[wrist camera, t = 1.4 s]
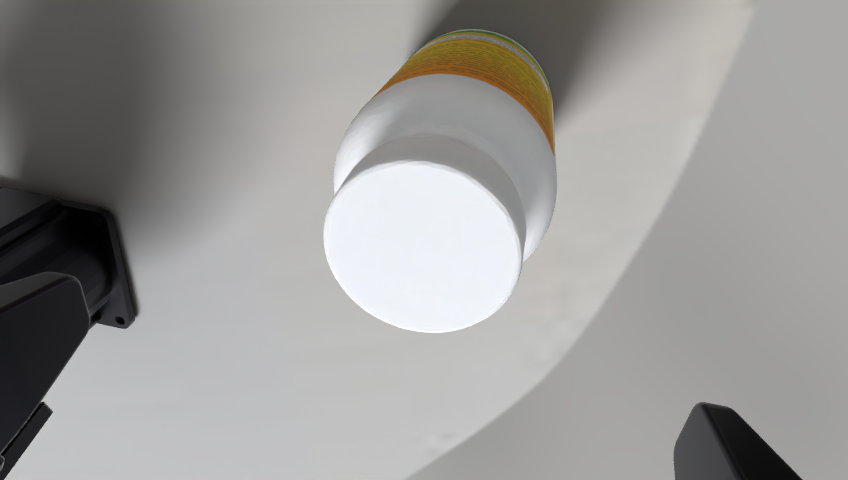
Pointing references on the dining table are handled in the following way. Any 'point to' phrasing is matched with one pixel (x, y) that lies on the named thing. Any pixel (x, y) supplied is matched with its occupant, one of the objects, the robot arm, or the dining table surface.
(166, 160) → the dining table surface
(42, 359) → the robot arm
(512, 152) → the supplement bottle
